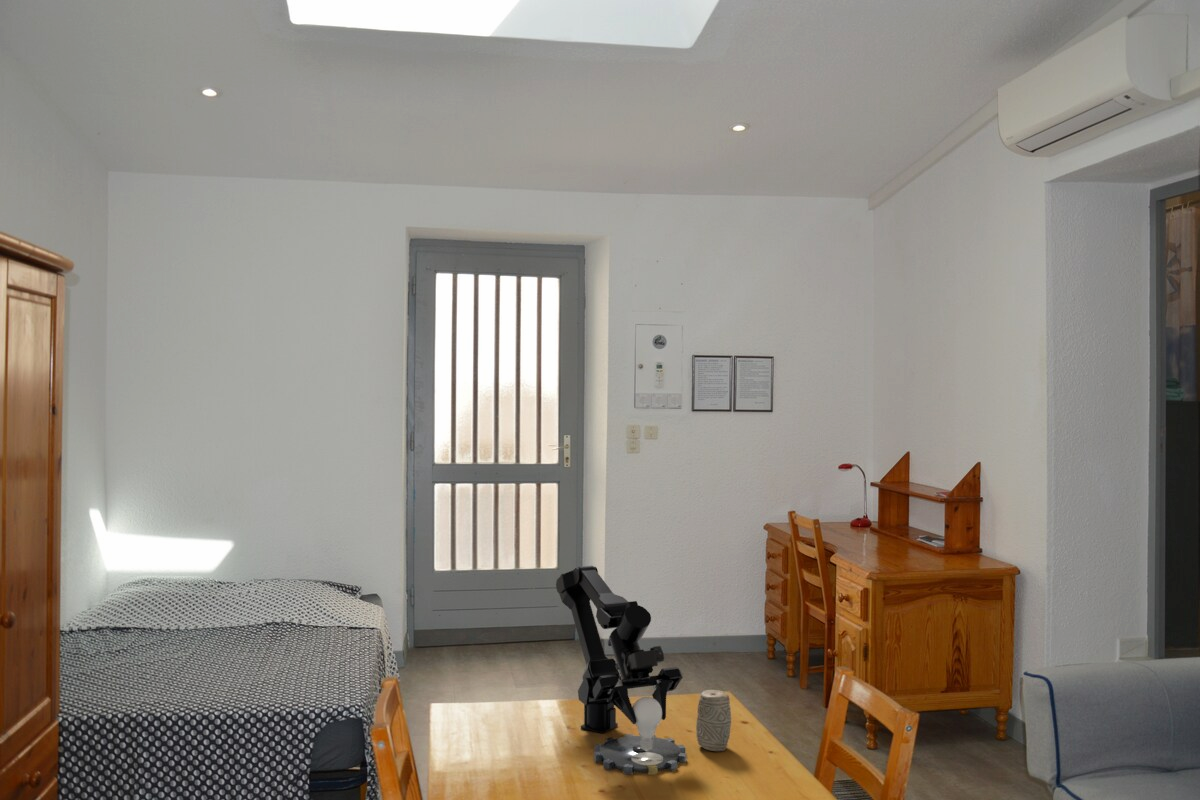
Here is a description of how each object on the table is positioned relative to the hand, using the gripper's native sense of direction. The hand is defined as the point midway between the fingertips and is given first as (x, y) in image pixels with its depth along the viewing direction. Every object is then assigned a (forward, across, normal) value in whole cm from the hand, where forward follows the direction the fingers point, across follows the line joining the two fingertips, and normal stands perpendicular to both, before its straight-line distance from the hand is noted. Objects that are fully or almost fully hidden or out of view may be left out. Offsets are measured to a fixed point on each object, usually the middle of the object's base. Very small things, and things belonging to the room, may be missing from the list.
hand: (649, 721), depth 199 cm
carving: (+4, +18, +11) cm, 21 cm away
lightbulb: (+4, 0, +6) cm, 7 cm away
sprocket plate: (+2, +1, +12) cm, 12 cm away
